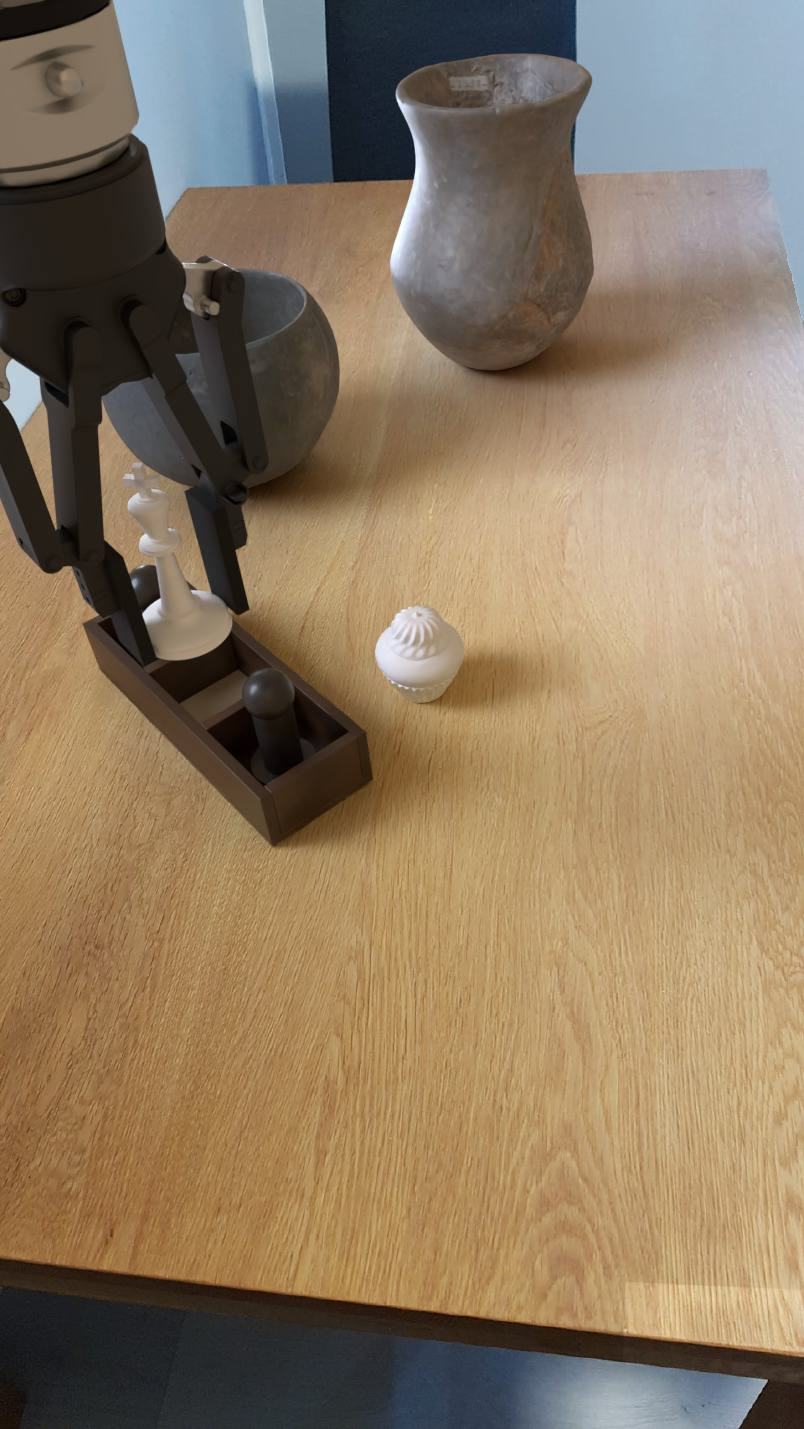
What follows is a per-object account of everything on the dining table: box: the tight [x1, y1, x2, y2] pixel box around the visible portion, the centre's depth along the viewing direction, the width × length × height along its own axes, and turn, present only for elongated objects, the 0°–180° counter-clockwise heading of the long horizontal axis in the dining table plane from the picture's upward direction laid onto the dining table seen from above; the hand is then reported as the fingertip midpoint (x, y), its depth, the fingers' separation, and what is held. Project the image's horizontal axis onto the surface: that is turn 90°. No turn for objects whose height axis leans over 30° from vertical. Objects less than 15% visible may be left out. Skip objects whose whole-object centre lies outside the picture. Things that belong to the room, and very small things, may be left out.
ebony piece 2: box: [242, 668, 317, 786], centre depth 67 cm, size 4×4×9 cm
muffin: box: [374, 604, 465, 704], centre depth 74 cm, size 6×6×7 cm
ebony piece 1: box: [128, 564, 161, 668], centre depth 76 cm, size 4×4×9 cm
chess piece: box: [121, 462, 233, 660], centre depth 53 cm, size 5×5×10 cm
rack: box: [82, 579, 374, 848], centre depth 74 cm, size 8×23×5 cm, turn 40°
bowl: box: [101, 267, 341, 489], centre depth 93 cm, size 20×20×15 cm
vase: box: [389, 53, 595, 371], centre depth 101 cm, size 20×19×25 cm
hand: (184, 624), depth 56 cm, fingers closed on chess piece, 5 cm apart
